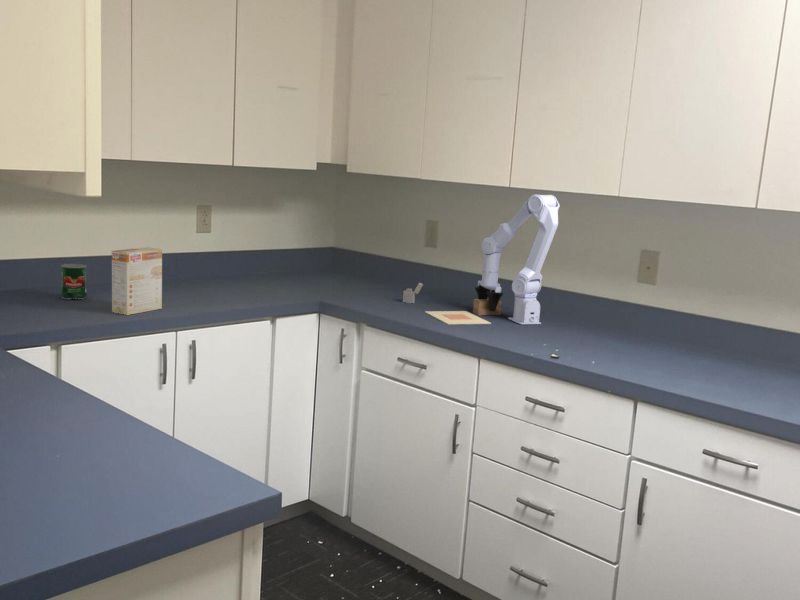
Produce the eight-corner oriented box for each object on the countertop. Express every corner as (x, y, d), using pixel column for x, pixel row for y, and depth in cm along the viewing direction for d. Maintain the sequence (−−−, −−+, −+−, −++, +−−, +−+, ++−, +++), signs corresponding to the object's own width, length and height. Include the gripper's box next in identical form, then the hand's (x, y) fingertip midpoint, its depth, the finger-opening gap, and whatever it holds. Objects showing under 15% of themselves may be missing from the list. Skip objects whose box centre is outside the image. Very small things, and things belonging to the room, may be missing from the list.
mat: (491, 323, 270) (491, 322, 269) (447, 324, 264) (447, 323, 264) (465, 311, 288) (465, 310, 288) (424, 312, 282) (424, 311, 282)
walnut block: (495, 312, 291) (496, 299, 290) (500, 315, 287) (502, 301, 286) (472, 312, 288) (473, 299, 287) (478, 315, 284) (479, 301, 283)
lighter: (402, 302, 299) (403, 281, 298) (404, 301, 301) (405, 280, 299) (420, 304, 296) (421, 283, 295) (421, 304, 298) (423, 282, 297)
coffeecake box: (146, 305, 262) (147, 246, 259) (162, 309, 259) (163, 249, 256) (110, 312, 249) (110, 250, 246) (127, 315, 246) (127, 252, 243)
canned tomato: (68, 301, 262) (68, 267, 260) (56, 297, 267) (56, 264, 265) (91, 298, 268) (91, 266, 266) (79, 295, 273) (79, 263, 271)
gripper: (510, 274, 280) (506, 312, 282) (491, 268, 293) (488, 305, 295) (492, 274, 277) (488, 313, 280) (473, 268, 291) (470, 305, 293)
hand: (487, 309), depth 287 cm, fingers open, 7 cm apart
